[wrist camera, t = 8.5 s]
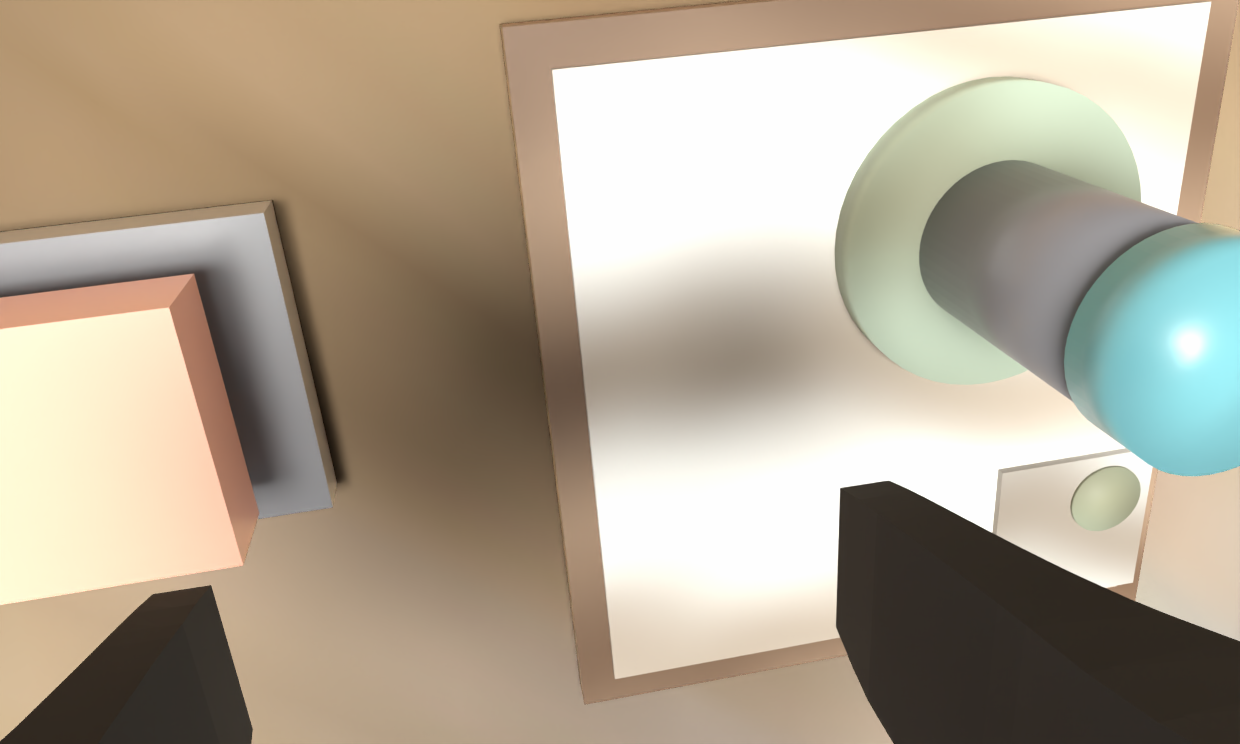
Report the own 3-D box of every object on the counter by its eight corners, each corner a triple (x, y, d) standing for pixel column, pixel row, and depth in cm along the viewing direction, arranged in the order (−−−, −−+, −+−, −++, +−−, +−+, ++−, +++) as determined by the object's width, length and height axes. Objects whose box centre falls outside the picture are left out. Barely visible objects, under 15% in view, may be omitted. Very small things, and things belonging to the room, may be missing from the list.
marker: (1067, 313, 21) (1313, 457, 15) (909, 335, 20) (1100, 492, 15) (1089, 146, 19) (1373, 232, 14) (919, 165, 19) (1137, 264, 13)
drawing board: (1115, 583, 27) (1160, 624, 25) (580, 682, 25) (590, 733, 23) (1217, -46, 20) (1286, -45, 19) (499, 24, 18) (505, 31, 17)
